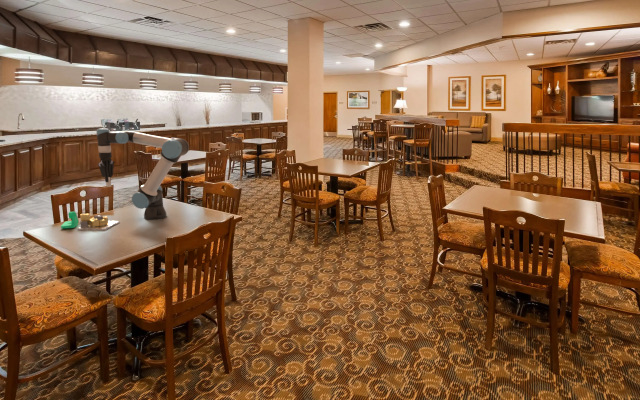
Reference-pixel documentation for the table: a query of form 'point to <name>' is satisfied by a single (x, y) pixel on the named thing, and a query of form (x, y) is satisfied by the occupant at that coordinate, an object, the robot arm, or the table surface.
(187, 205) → the table surface
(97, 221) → the gold lumpy cluster
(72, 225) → the camera mount
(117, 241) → the table surface
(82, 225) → the housing
